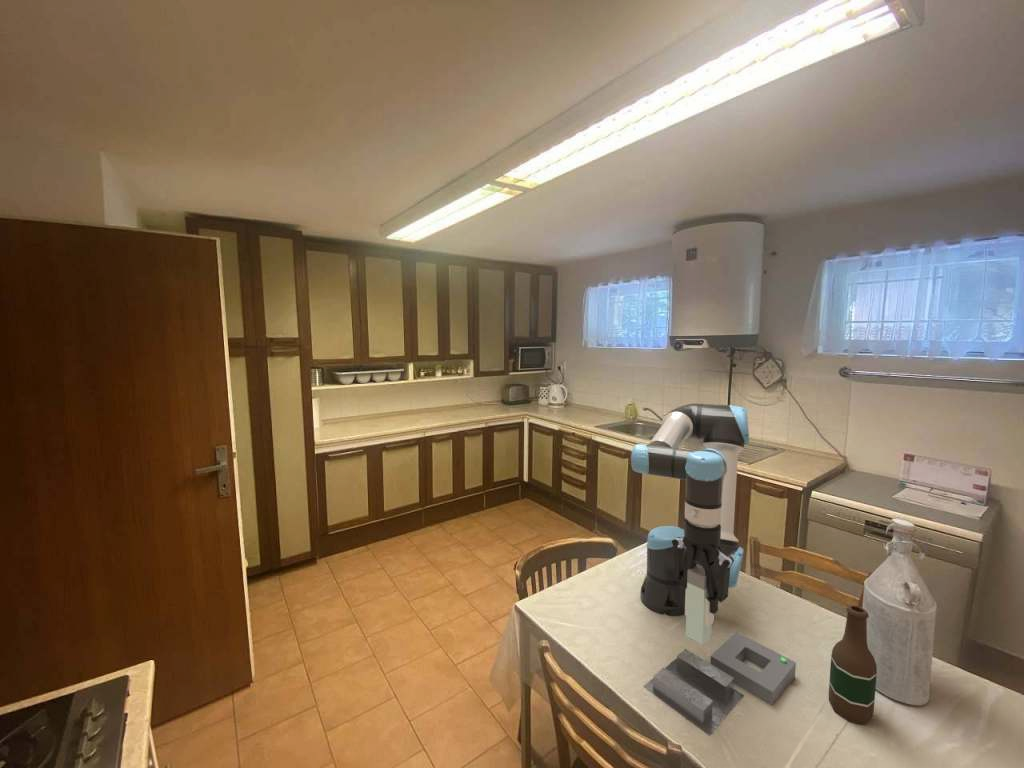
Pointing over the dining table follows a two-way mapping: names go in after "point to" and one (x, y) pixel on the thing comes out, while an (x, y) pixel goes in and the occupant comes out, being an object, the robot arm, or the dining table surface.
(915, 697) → the canister
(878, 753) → the dining table surface
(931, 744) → the dining table surface
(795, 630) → the dining table surface
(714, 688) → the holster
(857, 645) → the beer bottle
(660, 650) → the dining table surface
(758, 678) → the port
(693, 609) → the plug
